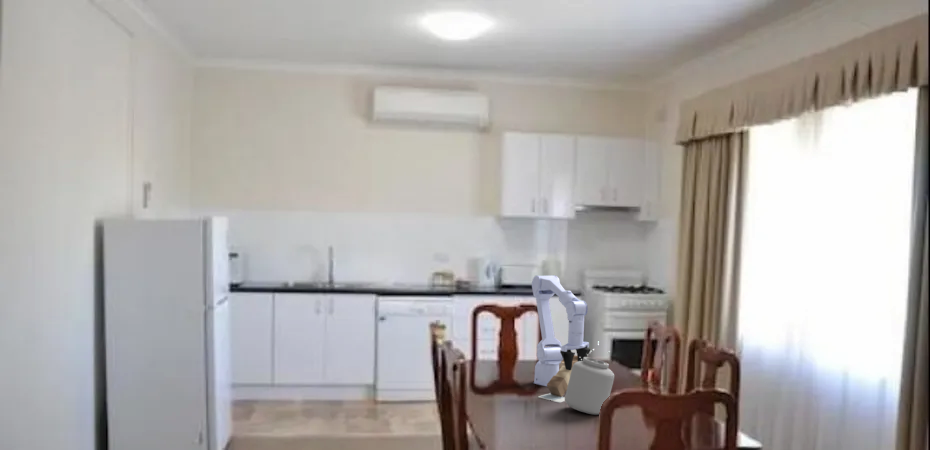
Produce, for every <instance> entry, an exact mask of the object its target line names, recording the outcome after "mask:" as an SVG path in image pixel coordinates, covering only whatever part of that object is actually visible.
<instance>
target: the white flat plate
mask: <svg viewBox="0 0 930 450" xmlns="http://www.w3.org/2000/svg"><path fill="white" fill-rule="evenodd" d="M537 398H538V399H539V398H540V399H543V400H547V401H550V400H551V402H555V403H557V404H559V403H564V402H565V396H562V397H559V396H556V395H552V394H551V393H550V392H549V393H545V394H542V395H538V396H537Z"/></svg>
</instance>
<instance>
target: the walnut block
mask: <svg viewBox="0 0 930 450" xmlns="http://www.w3.org/2000/svg"><path fill="white" fill-rule="evenodd" d="M546 387H547V388H548V391H549V393H550V394H552V395H556V396H559V397H564V395H565V394H566V391H567V387H568V385H567V383H566V381H565V379H564V378H562V377H558V376H553V377H552V378H551V380H550V381H549V382H548V384H547V386H546Z"/></svg>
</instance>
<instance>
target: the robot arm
mask: <svg viewBox="0 0 930 450" xmlns="http://www.w3.org/2000/svg"><path fill="white" fill-rule="evenodd" d="M531 289H532V294H533V297H534V298H535V301H536V308H537V314H538V320H539V321H538V322H539V326H540V333H541V340H540V341H539V342H538V343H537V344H536V357H537V360H538V361H537V362H536V364H535V366H534V379H533V380H534V382H533V381H532V383H533V384H536V385H538V386H543V387H547V384H548V382H549V381H550V380H551V378H552V377H553V376H555V375H556V374H557V372H558V371H559V364H560V363H561V361H562V360H563V359H564V363H565V368H566V369H567V370H571V369H572V361H573V357H574V355H575V354H576V356H577V357H578V361H583V358H584V357H588V356H589V354H590V353H591V348H589V347H590V342H588V341H584V334H585V333H584V332H585V331H584V330H585V316H586V315H587V314H588V312H589V309H588V303H587V302H586V300H581V299H579V298H578V297H577V296H576V295H574V293H572V291H571V290H566V289H565V288H564V287H563V286H562V284H561V282H560V278H559V276H557V275H554V274H553V275H534V277H533V278H532V281H531ZM554 295H556V296H558V300H559V301H558V302H560V304H561V305H562V306H563V307H564V308H565V311H566V314H567V315H566V316H567V318H566V319H567V321H568V331H567V332H568V335H567V343H565V344H564V345H562V342H561V341H560V340H559V339H558V338H556V336H555V330H554V324H553V323H554V322H553V317H552V310H551V306H550V305H551V304H550V298H552V297H553V296H554ZM573 350H575V351H576V352H573ZM581 359H582V360H581Z"/></svg>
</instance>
